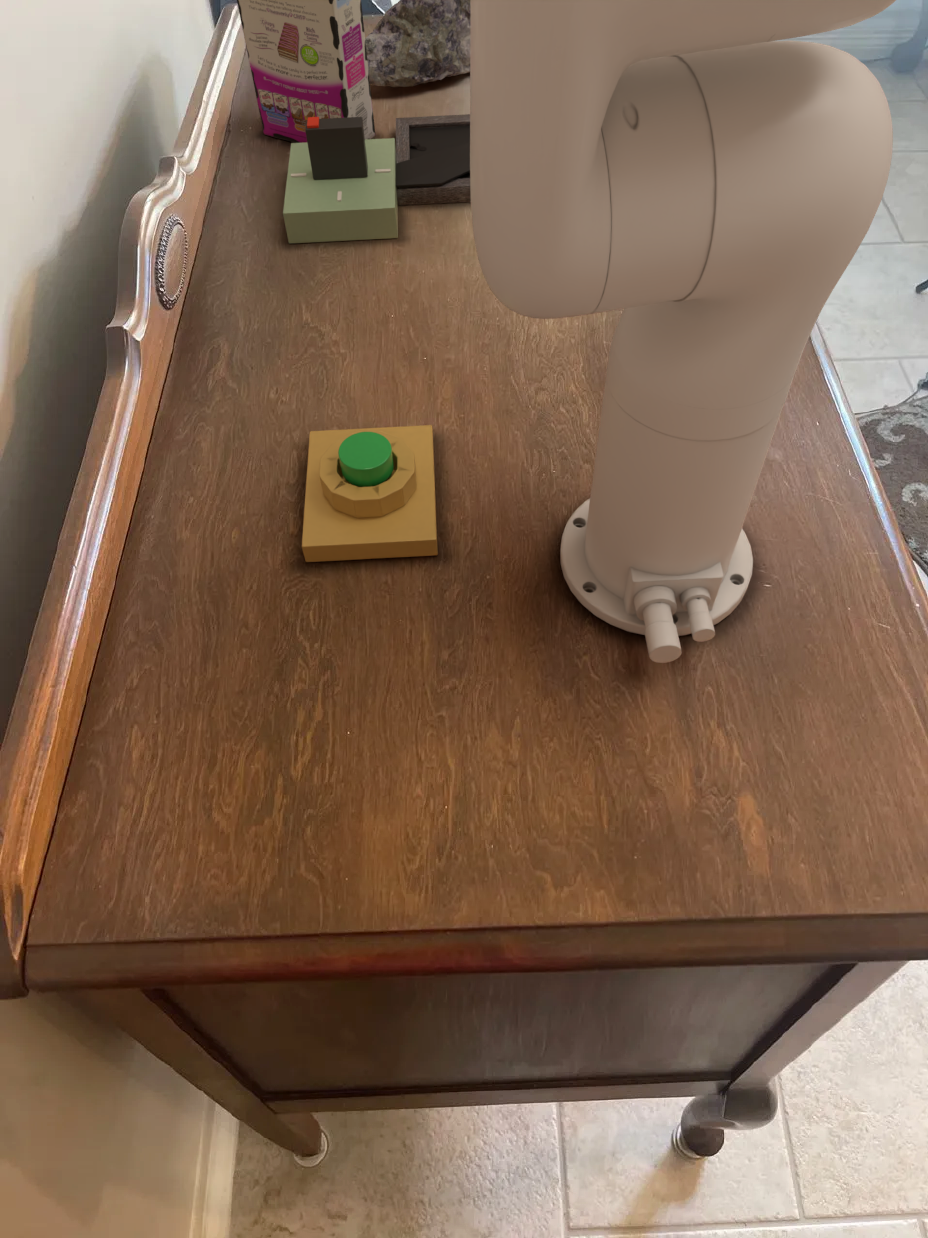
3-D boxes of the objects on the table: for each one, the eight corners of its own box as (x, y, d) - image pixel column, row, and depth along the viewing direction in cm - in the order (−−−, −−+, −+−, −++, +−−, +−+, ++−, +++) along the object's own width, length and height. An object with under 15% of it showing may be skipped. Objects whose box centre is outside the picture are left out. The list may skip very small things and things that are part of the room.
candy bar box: (378, 136, 95) (359, -51, 81) (352, 159, 92) (329, -30, 79) (288, 112, 98) (255, -71, 84) (261, 134, 95) (223, -51, 82)
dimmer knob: (367, 166, 85) (361, 113, 82) (367, 177, 84) (361, 123, 80) (314, 169, 85) (305, 116, 82) (313, 179, 84) (304, 126, 80)
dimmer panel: (398, 238, 84) (395, 205, 81) (288, 243, 84) (282, 211, 81) (397, 167, 91) (394, 135, 88) (296, 172, 91) (290, 140, 88)
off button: (394, 486, 62) (391, 467, 61) (340, 488, 62) (337, 470, 61) (393, 448, 64) (391, 429, 63) (342, 451, 64) (338, 432, 63)
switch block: (437, 555, 63) (435, 521, 60) (305, 562, 62) (296, 528, 60) (433, 441, 69) (430, 405, 66) (313, 447, 69) (305, 412, 66)
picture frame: (397, 205, 87) (587, 195, 87) (396, 185, 85) (588, 175, 86) (397, 133, 95) (571, 124, 95) (395, 113, 93) (572, 104, 93)
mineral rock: (363, 100, 99) (351, -5, 91) (367, 54, 105) (356, -49, 97) (483, 96, 99) (482, -10, 90) (479, 49, 105) (478, -54, 97)
